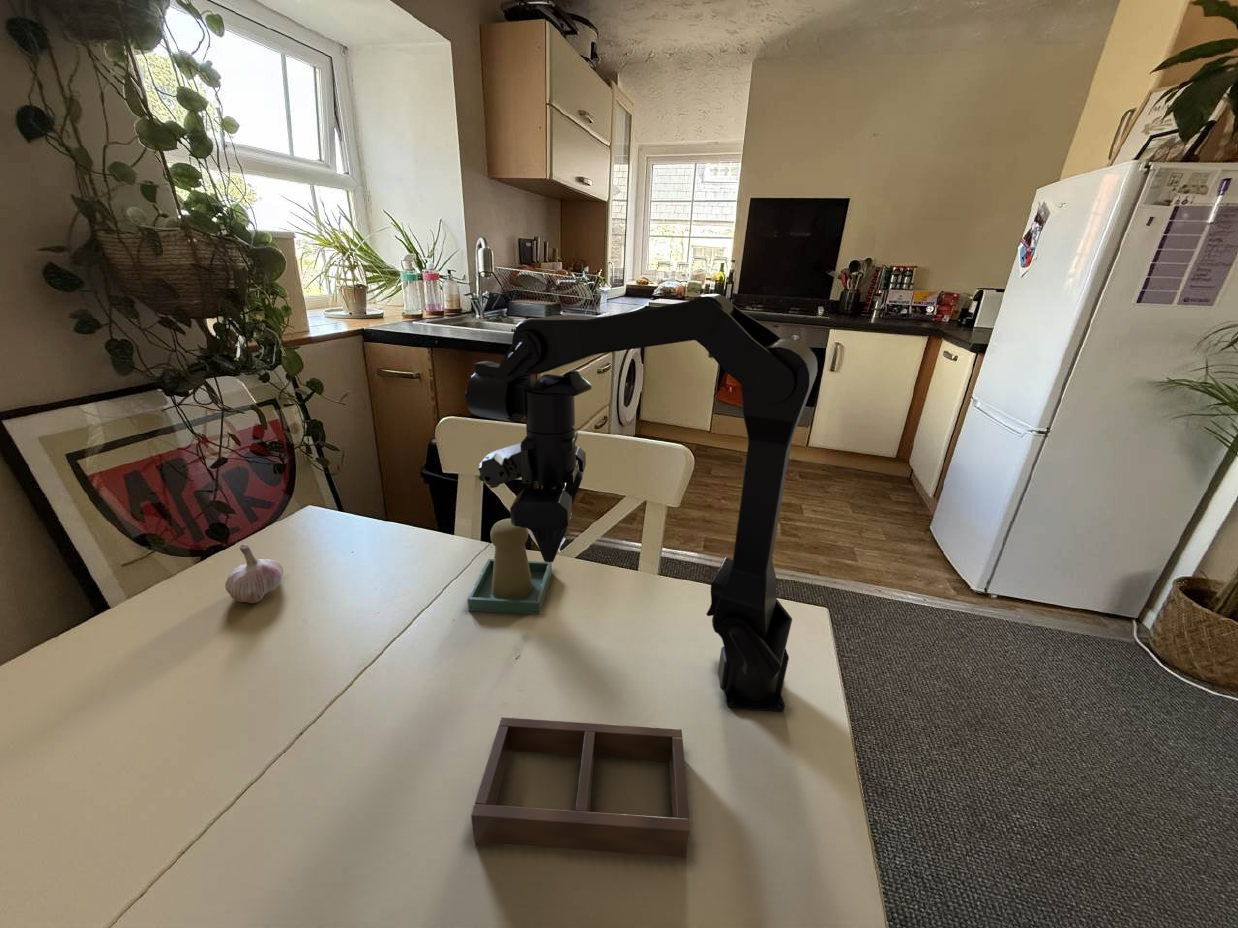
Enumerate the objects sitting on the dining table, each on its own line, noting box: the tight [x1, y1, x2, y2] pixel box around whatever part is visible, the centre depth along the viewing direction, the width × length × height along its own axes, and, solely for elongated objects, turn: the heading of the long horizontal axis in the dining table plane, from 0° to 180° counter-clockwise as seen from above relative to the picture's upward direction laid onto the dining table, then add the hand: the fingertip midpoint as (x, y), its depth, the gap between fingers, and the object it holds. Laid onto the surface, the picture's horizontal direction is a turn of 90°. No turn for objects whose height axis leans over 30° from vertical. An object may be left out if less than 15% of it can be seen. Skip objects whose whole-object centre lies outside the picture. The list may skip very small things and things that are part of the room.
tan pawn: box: [490, 517, 533, 600], centre depth 71 cm, size 6×6×11 cm
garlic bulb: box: [224, 543, 285, 604], centre depth 70 cm, size 8×7×8 cm
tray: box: [467, 558, 553, 616], centre depth 73 cm, size 10×10×2 cm
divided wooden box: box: [470, 716, 691, 858], centre depth 45 cm, size 18×10×4 cm, turn 87°
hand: (555, 541), depth 64 cm, fingers open, 9 cm apart
